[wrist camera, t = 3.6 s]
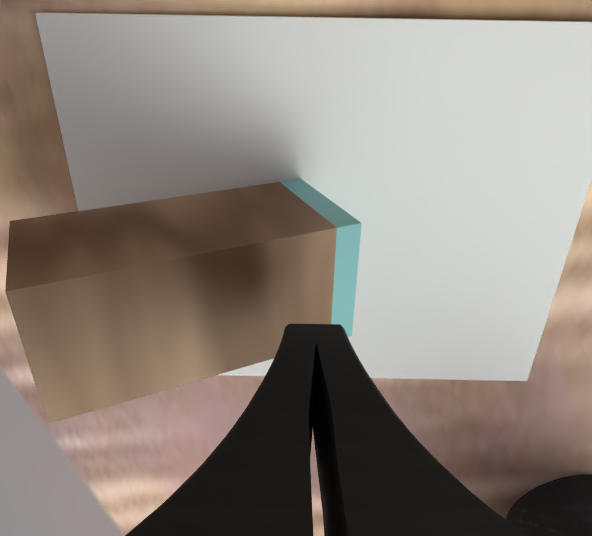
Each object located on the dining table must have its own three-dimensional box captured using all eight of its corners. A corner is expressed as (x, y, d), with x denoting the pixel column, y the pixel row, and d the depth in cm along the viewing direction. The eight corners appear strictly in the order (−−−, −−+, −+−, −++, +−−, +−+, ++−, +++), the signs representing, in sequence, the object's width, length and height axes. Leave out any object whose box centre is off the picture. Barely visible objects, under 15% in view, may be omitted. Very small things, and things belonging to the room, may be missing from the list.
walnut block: (361, 223, 14) (5, 291, 11) (352, 336, 16) (47, 423, 13) (300, 178, 17) (9, 221, 14) (298, 277, 19) (43, 336, 16)
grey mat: (633, 22, 15) (641, 23, 15) (523, 374, 22) (526, 381, 22) (41, 12, 15) (34, 13, 15) (116, 367, 22) (113, 373, 22)
